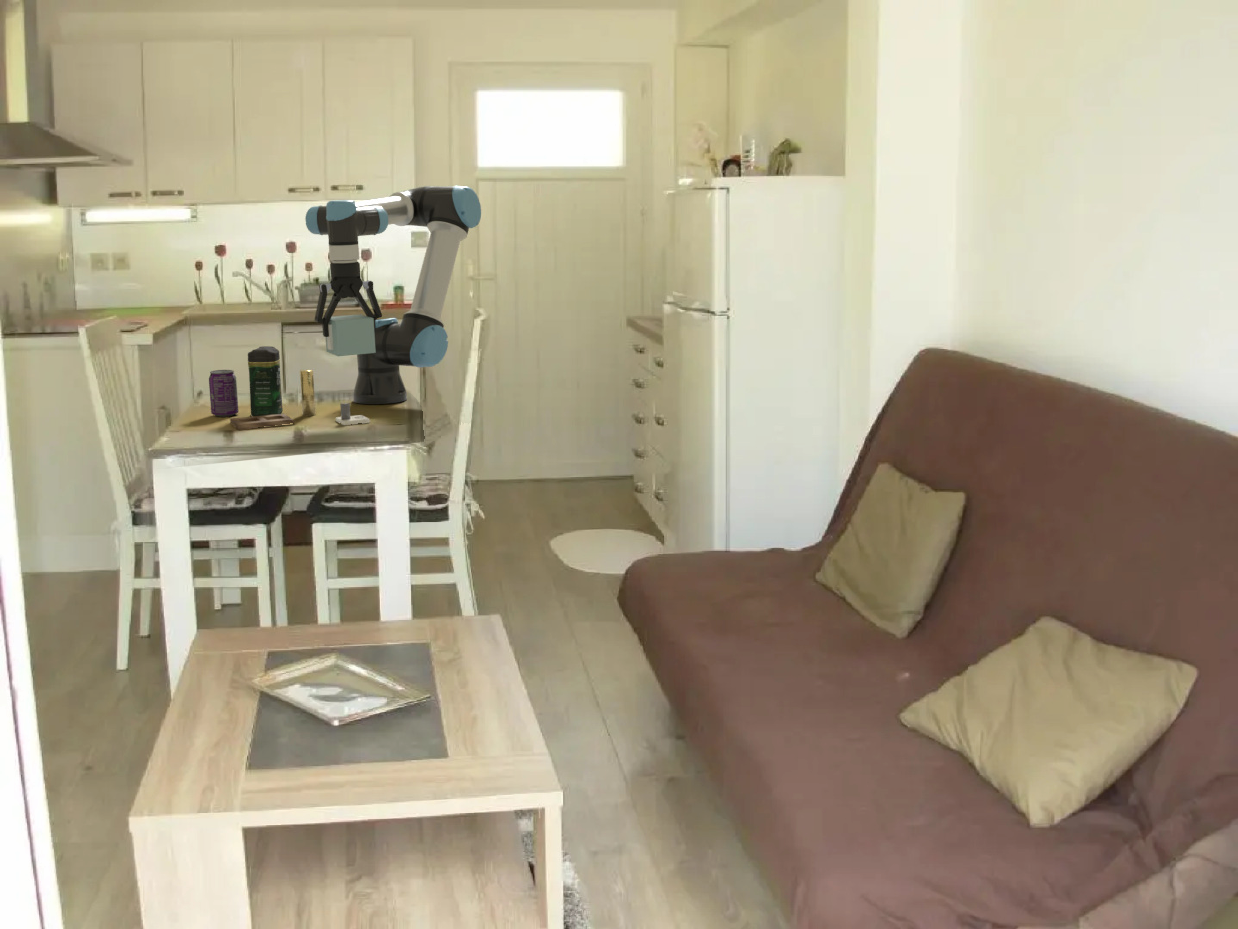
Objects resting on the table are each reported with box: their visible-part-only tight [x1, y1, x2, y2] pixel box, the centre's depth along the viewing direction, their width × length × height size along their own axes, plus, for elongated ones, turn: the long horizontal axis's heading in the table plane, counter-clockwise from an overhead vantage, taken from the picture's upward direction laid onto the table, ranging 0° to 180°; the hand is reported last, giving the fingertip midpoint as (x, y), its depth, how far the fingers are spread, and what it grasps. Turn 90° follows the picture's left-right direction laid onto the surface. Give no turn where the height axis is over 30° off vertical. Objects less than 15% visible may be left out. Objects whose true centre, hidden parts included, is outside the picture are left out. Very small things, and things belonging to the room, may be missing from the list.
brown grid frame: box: [229, 413, 295, 430], centre depth 357 cm, size 14×10×1 cm
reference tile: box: [335, 402, 371, 426], centre depth 359 cm, size 7×7×5 cm
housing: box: [325, 313, 376, 357], centre depth 358 cm, size 10×10×9 cm
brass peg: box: [299, 369, 316, 417], centre depth 370 cm, size 3×3×12 cm
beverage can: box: [208, 369, 239, 418], centre depth 370 cm, size 7×7×12 cm
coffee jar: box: [247, 345, 284, 417], centre depth 369 cm, size 10×8×19 cm
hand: (350, 347), depth 358 cm, fingers closed on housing, 10 cm apart
